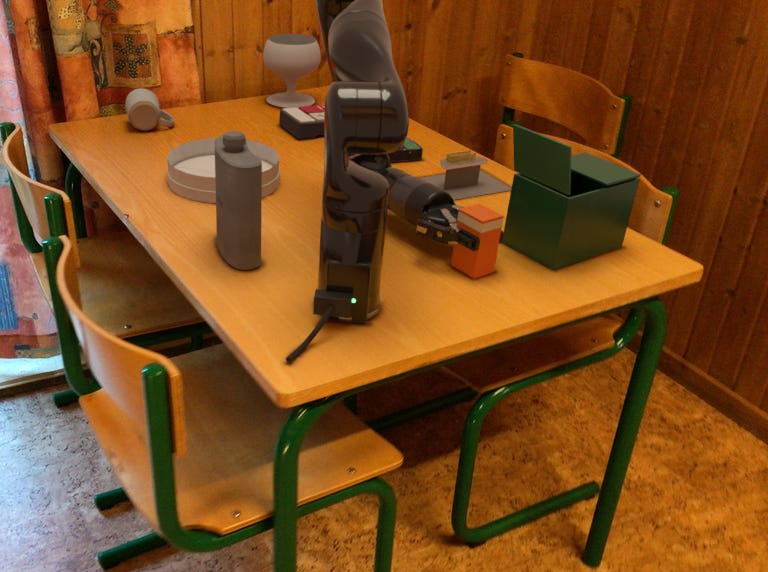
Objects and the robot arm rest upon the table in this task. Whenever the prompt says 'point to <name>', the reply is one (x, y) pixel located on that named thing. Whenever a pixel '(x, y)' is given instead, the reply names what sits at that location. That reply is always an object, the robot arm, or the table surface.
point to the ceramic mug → (146, 110)
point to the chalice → (291, 65)
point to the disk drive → (406, 152)
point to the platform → (465, 177)
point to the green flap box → (571, 213)
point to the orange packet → (488, 231)
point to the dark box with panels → (303, 121)
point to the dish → (213, 169)
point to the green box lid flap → (542, 159)
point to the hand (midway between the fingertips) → (489, 241)
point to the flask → (238, 201)
